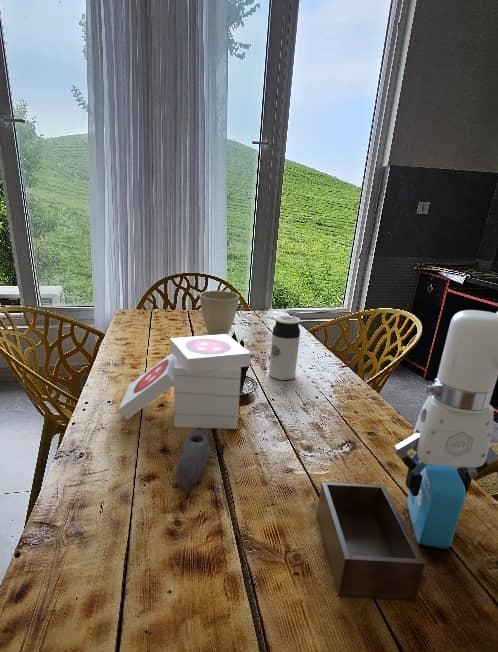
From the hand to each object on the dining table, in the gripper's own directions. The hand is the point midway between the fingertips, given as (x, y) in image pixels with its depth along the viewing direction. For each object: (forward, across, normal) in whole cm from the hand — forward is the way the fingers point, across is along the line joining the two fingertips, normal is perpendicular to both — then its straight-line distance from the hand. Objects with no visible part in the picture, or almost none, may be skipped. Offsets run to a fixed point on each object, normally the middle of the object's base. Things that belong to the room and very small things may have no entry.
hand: (435, 491), depth 73 cm
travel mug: (+7, -18, +65) cm, 68 cm away
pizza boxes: (+7, -45, +37) cm, 59 cm away
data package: (+7, 0, 0) cm, 7 cm away
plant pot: (+7, -39, +103) cm, 110 cm away
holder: (+7, -13, -7) cm, 16 cm away
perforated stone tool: (+7, -41, +11) cm, 43 cm away
